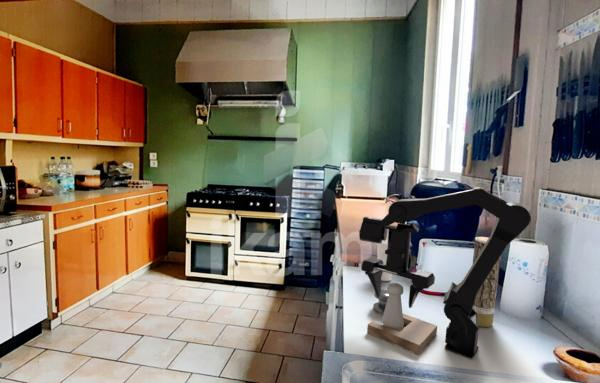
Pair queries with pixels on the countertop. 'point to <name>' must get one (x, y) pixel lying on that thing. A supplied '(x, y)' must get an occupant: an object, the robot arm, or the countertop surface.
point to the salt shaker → (393, 307)
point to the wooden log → (486, 289)
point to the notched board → (406, 333)
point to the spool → (381, 302)
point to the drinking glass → (383, 259)
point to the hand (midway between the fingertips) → (394, 301)
